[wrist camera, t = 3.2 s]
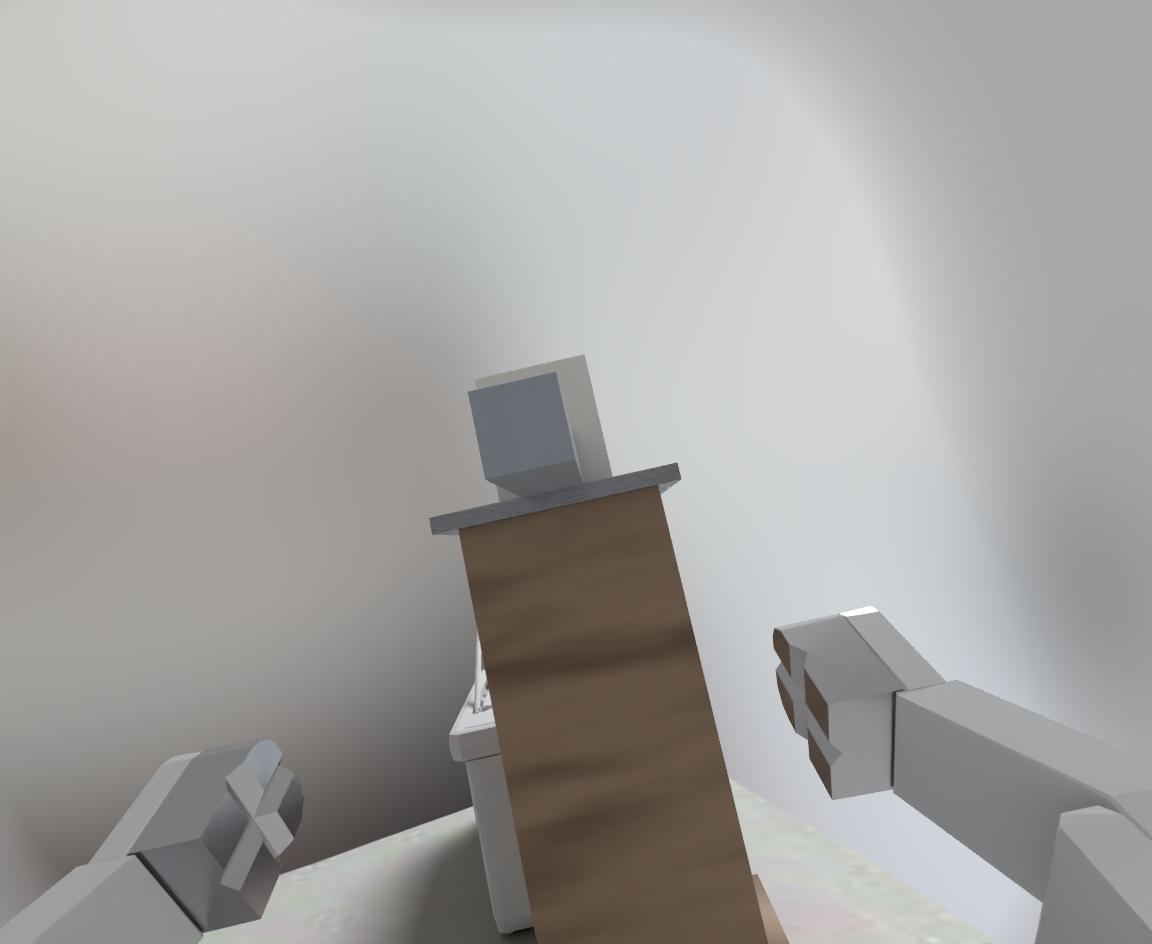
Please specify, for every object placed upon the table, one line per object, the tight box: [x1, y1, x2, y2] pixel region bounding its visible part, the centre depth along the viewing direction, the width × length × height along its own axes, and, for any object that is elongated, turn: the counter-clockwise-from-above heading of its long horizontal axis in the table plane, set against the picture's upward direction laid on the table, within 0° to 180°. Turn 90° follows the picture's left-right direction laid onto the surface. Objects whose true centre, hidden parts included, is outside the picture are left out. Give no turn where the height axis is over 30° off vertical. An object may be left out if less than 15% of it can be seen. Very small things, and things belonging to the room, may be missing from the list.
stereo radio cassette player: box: [449, 630, 534, 934], centre depth 45 cm, size 21×8×20 cm, turn 4°
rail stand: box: [429, 463, 789, 944], centre depth 29 cm, size 11×13×26 cm
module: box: [468, 355, 613, 502], centre depth 27 cm, size 18×6×7 cm, turn 177°
